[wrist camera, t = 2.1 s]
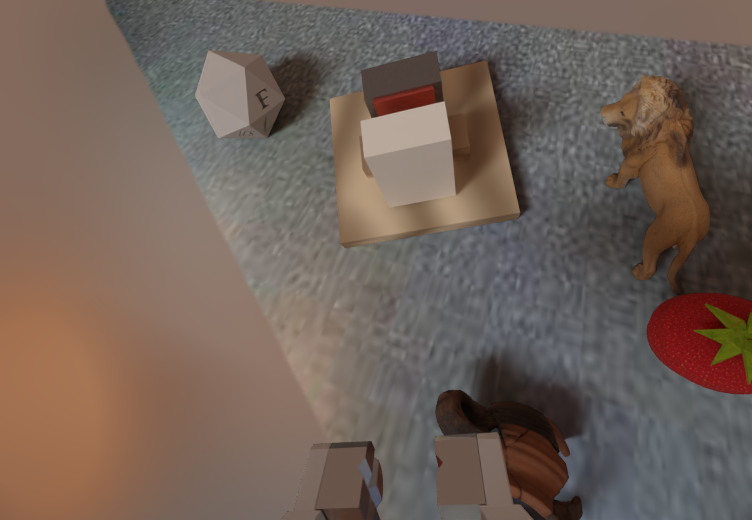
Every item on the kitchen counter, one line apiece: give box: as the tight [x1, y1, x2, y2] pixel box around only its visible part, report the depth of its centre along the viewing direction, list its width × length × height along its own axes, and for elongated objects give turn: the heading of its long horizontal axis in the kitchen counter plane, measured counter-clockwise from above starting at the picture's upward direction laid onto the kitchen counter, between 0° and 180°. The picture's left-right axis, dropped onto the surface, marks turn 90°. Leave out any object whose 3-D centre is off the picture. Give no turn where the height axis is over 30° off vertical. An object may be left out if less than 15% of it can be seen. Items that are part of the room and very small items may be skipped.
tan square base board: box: [330, 60, 520, 248], centre depth 36 cm, size 16×16×4 cm
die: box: [195, 50, 285, 138], centre depth 40 cm, size 8×9×10 cm
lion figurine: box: [601, 74, 710, 295], centre depth 28 cm, size 15×5×9 cm, turn 14°
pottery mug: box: [435, 390, 583, 520], centre depth 28 cm, size 12×10×8 cm
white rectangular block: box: [360, 101, 456, 208], centre depth 31 cm, size 6×3×9 cm, turn 96°
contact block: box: [361, 51, 444, 118], centre depth 35 cm, size 6×3×6 cm, turn 96°
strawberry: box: [647, 293, 752, 394], centre depth 24 cm, size 6×8×10 cm
